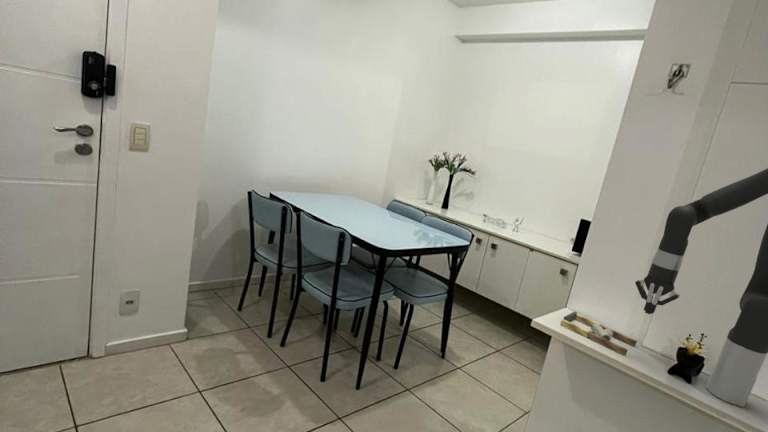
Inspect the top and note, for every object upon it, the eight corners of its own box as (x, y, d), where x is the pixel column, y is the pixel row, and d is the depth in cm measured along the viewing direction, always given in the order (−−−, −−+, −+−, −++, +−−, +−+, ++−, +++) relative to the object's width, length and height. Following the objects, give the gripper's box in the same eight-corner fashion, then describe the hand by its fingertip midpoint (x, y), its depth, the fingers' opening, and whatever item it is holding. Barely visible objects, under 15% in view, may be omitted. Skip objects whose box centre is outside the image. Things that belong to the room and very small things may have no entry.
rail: (635, 345, 143) (638, 338, 142) (624, 356, 133) (627, 348, 133) (573, 317, 158) (576, 310, 157) (560, 324, 148) (562, 317, 147)
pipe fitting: (606, 336, 148) (589, 331, 148) (611, 327, 147) (593, 322, 147) (617, 347, 140) (598, 342, 140) (621, 338, 139) (603, 332, 139)
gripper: (692, 271, 128) (673, 320, 132) (645, 256, 137) (629, 302, 141) (688, 274, 123) (668, 324, 127) (640, 258, 132) (623, 306, 136)
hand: (647, 313), depth 134 cm, fingers closed
